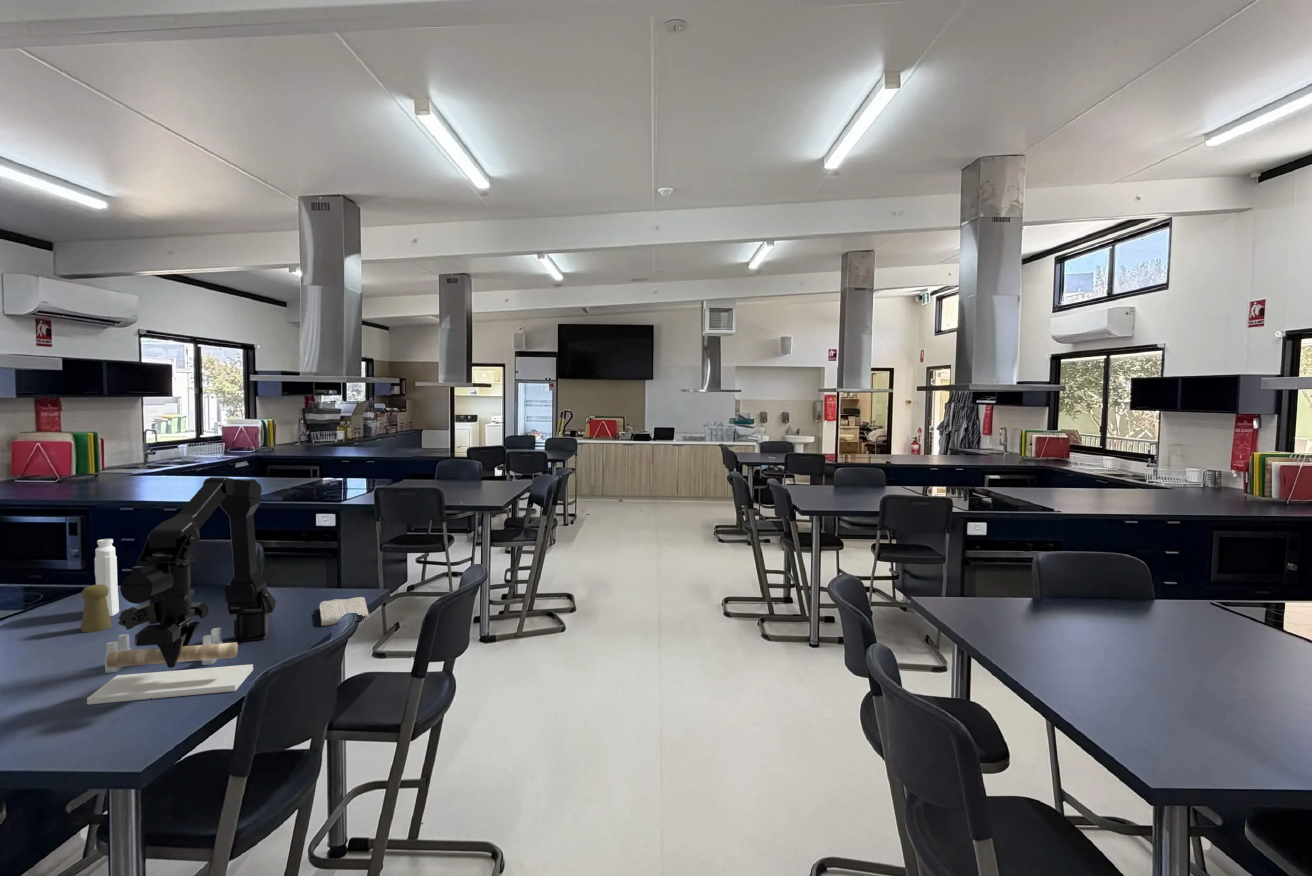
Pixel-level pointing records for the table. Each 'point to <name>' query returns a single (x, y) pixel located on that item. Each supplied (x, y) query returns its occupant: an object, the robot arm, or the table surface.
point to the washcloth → (342, 609)
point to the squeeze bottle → (107, 572)
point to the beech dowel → (185, 655)
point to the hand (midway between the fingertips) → (175, 664)
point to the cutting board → (171, 684)
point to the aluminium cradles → (124, 646)
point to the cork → (95, 609)
